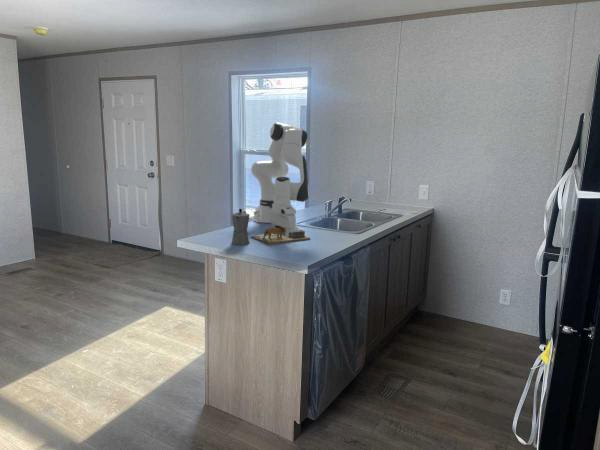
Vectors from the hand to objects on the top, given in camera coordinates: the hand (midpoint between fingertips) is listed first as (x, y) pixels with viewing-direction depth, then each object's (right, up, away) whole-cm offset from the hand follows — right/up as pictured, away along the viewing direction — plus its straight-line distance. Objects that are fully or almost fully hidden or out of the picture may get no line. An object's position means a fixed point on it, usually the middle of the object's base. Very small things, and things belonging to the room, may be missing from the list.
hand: (281, 234), depth 232 cm
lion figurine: (-4, -3, +2) cm, 5 cm away
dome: (+6, 0, +12) cm, 14 cm away
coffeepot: (-21, -4, -3) cm, 22 cm away
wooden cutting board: (-1, -2, +9) cm, 9 cm away
